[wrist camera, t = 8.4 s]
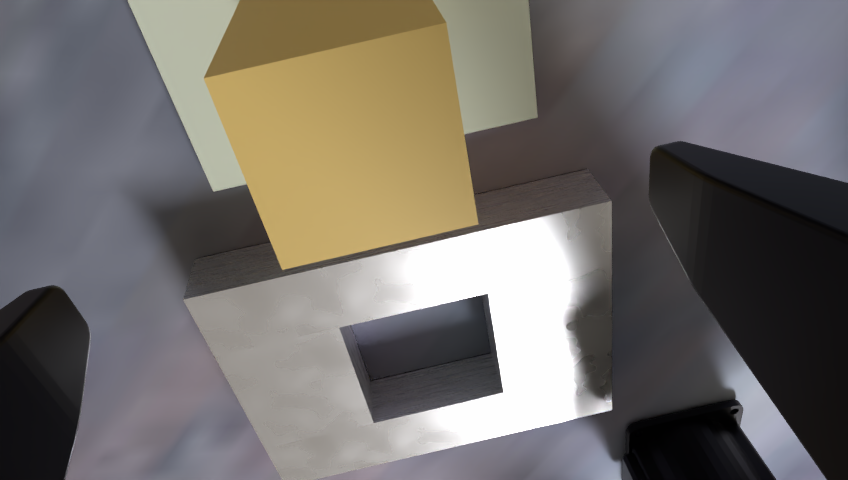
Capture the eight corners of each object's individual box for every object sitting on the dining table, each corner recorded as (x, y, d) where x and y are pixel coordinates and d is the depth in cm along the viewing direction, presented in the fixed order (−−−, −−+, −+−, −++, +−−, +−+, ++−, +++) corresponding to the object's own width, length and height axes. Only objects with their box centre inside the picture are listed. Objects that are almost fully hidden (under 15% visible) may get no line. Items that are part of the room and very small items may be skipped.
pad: (505, -224, 17) (510, -225, 16) (533, 110, 22) (537, 117, 22) (78, -128, 17) (70, -126, 16) (215, 183, 22) (213, 191, 22)
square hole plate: (587, 168, 24) (611, 201, 22) (593, 371, 31) (612, 410, 29) (194, 259, 24) (183, 299, 22) (288, 442, 31) (285, 486, 29)
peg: (390, -69, 18) (446, 22, 10) (415, 62, 20) (478, 224, 12) (257, -39, 18) (203, 78, 10) (298, 89, 20) (282, 270, 12)
